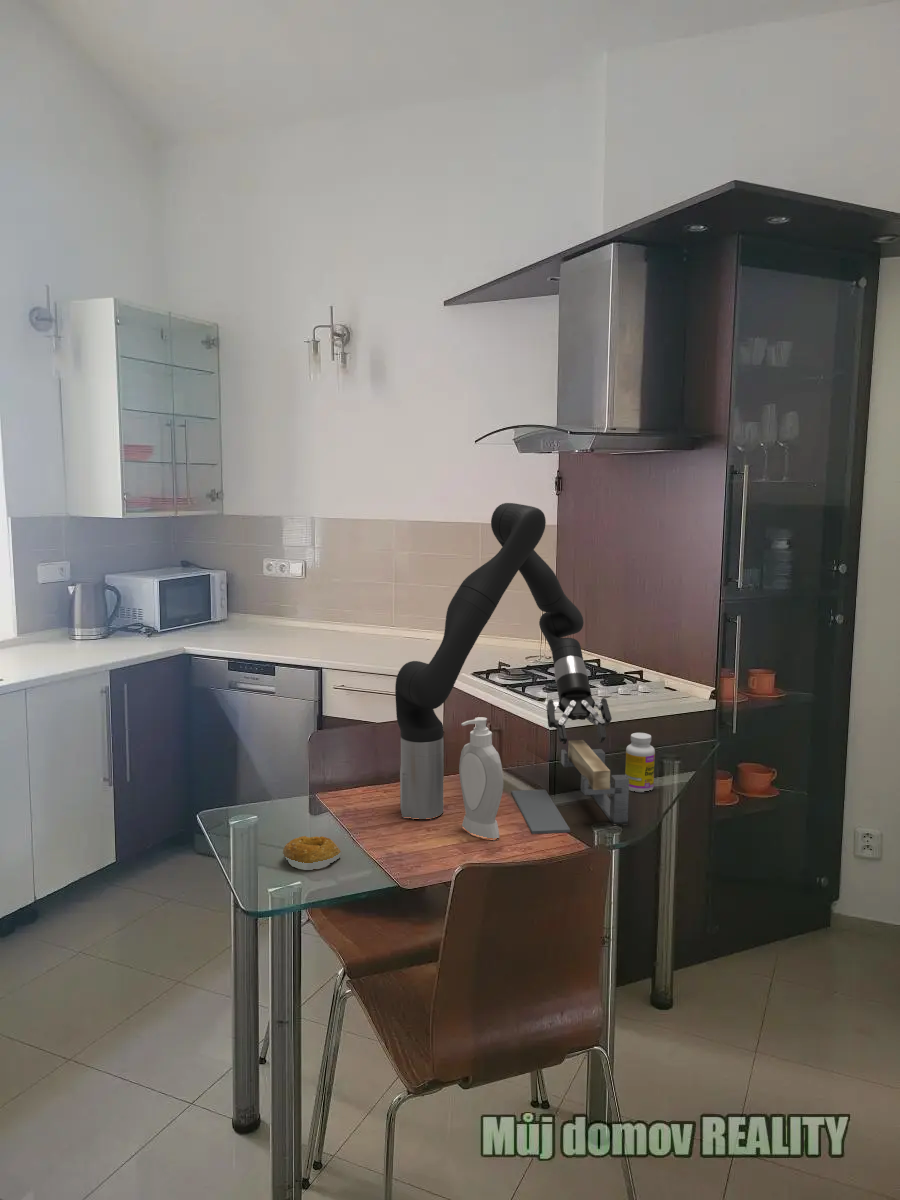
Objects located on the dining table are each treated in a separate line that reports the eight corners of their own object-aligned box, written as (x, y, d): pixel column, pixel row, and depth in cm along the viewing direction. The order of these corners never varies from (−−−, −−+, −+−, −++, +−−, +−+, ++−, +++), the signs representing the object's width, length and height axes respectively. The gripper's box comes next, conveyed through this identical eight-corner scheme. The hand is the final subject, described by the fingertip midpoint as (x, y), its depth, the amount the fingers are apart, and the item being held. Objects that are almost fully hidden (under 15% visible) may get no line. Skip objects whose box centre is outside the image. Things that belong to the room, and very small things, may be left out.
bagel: (345, 868, 173) (345, 843, 172) (287, 876, 169) (286, 851, 169) (336, 848, 182) (335, 825, 181) (280, 855, 179) (279, 832, 178)
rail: (593, 789, 191) (593, 771, 190) (568, 757, 212) (568, 740, 212) (609, 789, 191) (610, 770, 190) (582, 756, 213) (583, 739, 212)
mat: (532, 833, 188) (532, 831, 188) (511, 793, 212) (511, 790, 212) (570, 832, 189) (570, 829, 189) (545, 791, 213) (545, 789, 213)
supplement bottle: (646, 795, 211) (647, 741, 209) (619, 789, 215) (621, 736, 213) (658, 787, 216) (660, 734, 214) (632, 781, 220) (634, 729, 218)
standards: (583, 826, 192) (584, 780, 191) (560, 792, 213) (561, 749, 211) (627, 825, 193) (629, 778, 192) (600, 790, 214) (601, 748, 212)
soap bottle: (441, 829, 190) (441, 716, 187) (469, 820, 195) (469, 709, 192) (483, 849, 181) (484, 729, 177) (511, 839, 186) (512, 722, 182)
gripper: (544, 672, 211) (555, 734, 201) (605, 670, 212) (618, 732, 203) (539, 689, 217) (549, 750, 207) (598, 687, 218) (610, 748, 209)
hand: (583, 741), depth 205 cm, fingers open, 8 cm apart
